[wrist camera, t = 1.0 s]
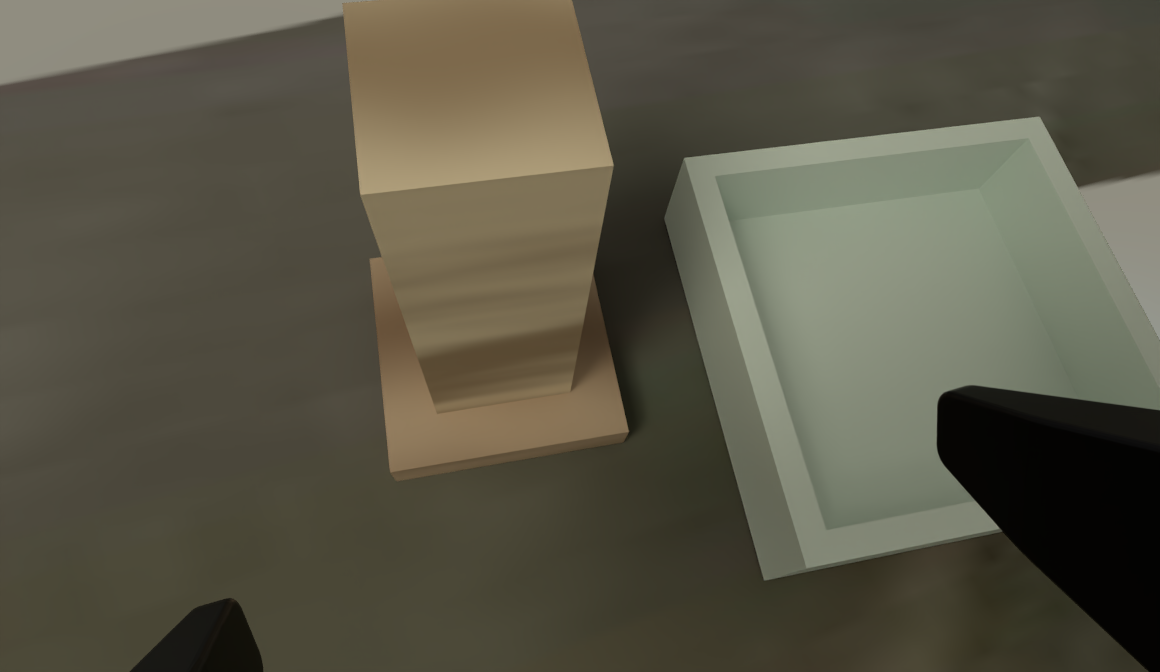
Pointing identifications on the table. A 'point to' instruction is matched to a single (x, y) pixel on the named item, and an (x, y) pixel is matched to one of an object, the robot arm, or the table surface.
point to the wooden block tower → (483, 229)
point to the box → (891, 322)
